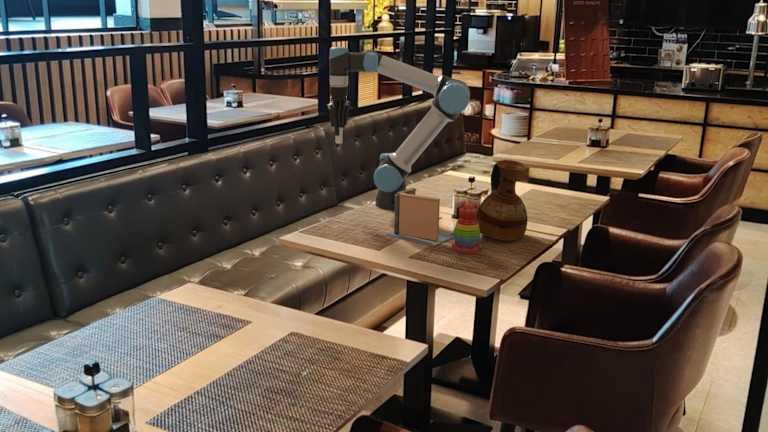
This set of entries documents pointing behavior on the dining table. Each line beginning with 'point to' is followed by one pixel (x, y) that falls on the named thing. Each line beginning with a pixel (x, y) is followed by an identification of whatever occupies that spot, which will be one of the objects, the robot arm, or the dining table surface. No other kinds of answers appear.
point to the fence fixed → (397, 205)
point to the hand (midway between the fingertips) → (338, 143)
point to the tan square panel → (419, 216)
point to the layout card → (441, 238)
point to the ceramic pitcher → (503, 204)
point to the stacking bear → (467, 230)
